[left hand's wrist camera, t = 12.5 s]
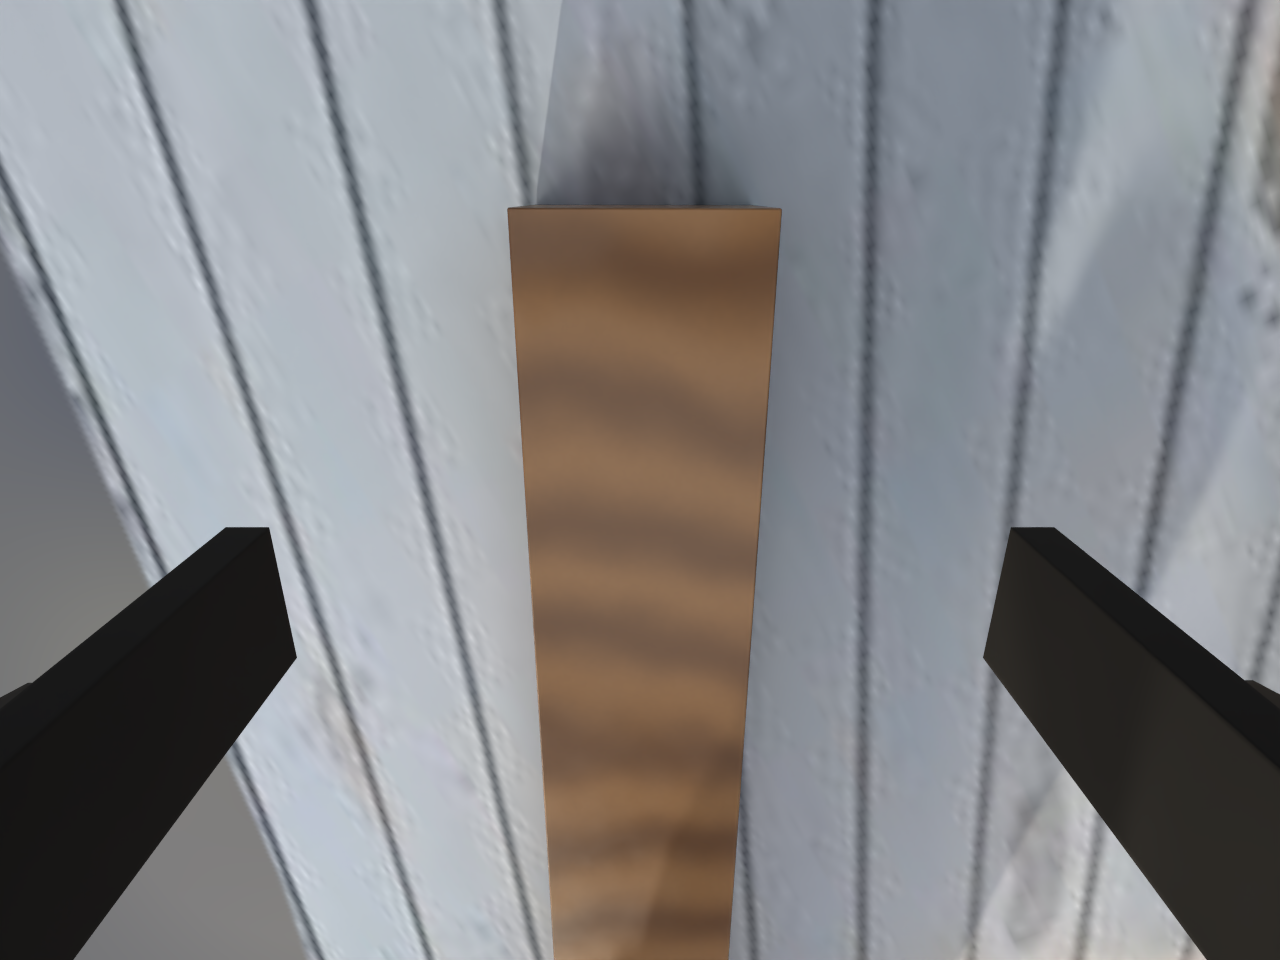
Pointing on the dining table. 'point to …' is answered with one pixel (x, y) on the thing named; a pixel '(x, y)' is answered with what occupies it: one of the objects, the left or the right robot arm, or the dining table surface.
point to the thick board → (643, 554)
